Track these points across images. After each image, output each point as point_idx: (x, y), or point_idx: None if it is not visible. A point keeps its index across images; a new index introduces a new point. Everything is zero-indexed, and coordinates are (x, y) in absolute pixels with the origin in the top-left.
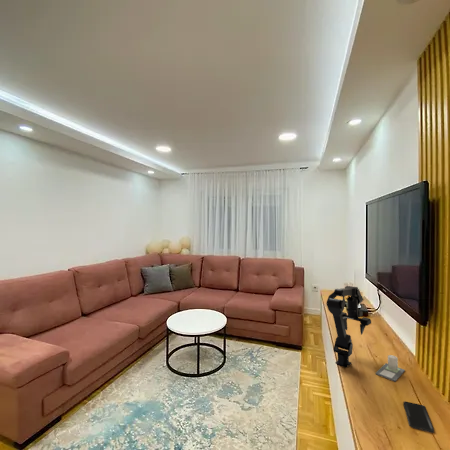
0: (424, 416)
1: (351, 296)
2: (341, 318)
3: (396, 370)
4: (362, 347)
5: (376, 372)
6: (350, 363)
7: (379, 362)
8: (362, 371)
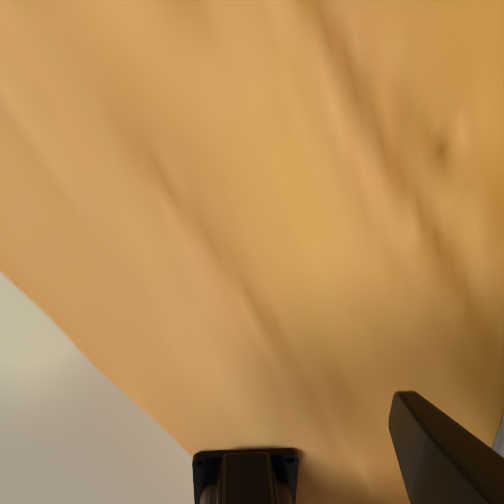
0: None
1: None
2: None
3: None
4: (221, 13)
5: (501, 451)
6: (294, 468)
7: (494, 265)
8: (400, 479)
